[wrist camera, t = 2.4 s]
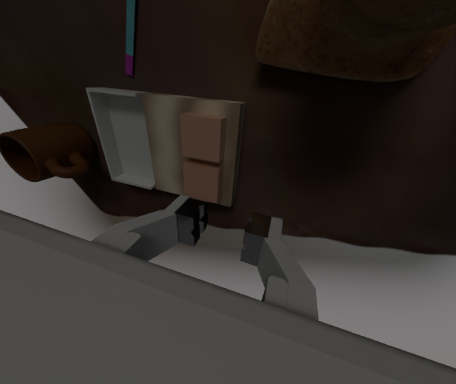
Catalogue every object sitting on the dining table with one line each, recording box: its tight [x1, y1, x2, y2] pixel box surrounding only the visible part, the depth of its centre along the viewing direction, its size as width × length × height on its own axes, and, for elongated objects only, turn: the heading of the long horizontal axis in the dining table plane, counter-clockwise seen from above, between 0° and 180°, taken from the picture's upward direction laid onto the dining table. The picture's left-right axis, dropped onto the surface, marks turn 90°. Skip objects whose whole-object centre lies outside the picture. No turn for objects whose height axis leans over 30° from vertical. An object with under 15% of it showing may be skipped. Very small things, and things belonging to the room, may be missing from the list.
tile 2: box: [183, 158, 224, 203], centre depth 26 cm, size 5×5×2 cm
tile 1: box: [180, 112, 227, 163], centre depth 23 cm, size 5×5×2 cm
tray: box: [86, 88, 155, 190], centre depth 29 cm, size 8×14×3 cm, turn 176°
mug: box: [0, 122, 96, 182], centre depth 30 cm, size 12×8×9 cm, turn 75°
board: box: [141, 93, 245, 207], centre depth 27 cm, size 13×14×2 cm
